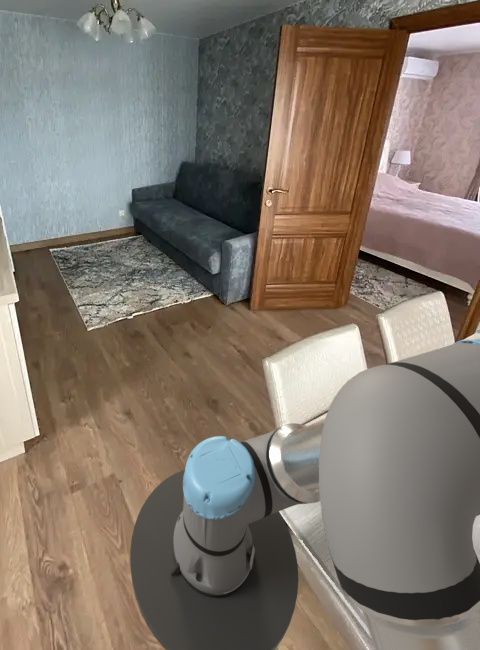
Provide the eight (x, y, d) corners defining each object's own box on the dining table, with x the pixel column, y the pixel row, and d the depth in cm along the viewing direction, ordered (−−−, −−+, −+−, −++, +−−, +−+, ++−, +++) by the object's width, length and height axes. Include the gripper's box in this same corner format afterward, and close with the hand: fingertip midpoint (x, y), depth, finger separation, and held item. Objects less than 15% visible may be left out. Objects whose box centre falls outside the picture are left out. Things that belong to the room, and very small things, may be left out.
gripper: (421, 875, 33) (334, 587, 53) (695, 898, 32) (503, 596, 52) (444, 854, 30) (344, 558, 50) (746, 878, 29) (522, 567, 49)
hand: (424, 577), depth 51 cm, fingers open, 13 cm apart
